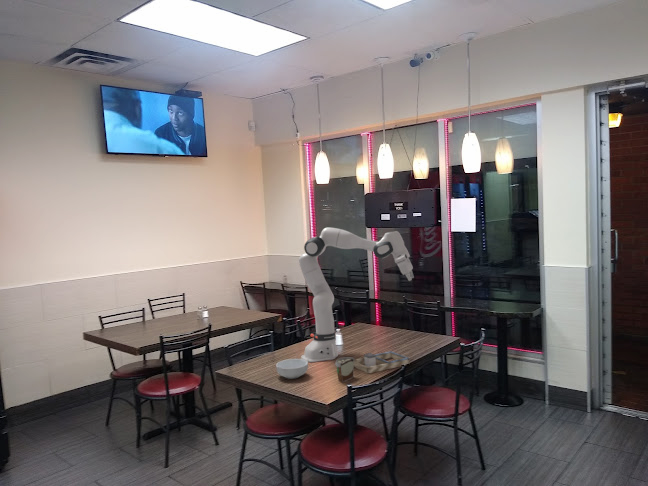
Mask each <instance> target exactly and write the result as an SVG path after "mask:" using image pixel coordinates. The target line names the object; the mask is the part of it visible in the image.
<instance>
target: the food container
mask: <svg viewBox="0 0 648 486" xmlns="http://www.w3.org/2000/svg"><path fill="white" fill-rule="evenodd" d="M335 360H336V361H335V363H334V365H335V367H336V371H337V378H338V379H337V380H338V382H339V383H345V382H347V381H348V380H351V379H353V378H354V372H355V371H354V370H355V369H354V368H355V367H354V360H355V357H353V356H352V357H350V356H349V357H347V356H346V357H339V358H337V359H335Z"/></svg>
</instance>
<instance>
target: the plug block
mask: <svg viewBox="0 0 648 486" xmlns="http://www.w3.org/2000/svg"><path fill="white" fill-rule="evenodd" d="M363 356H364V357H363V358H364V360H365V363H364V365H365V366H367V367H371V366H376V365H377V364H376V358H375V357H376V355H375V354H374V353H371V352H367V353H365V354H363Z"/></svg>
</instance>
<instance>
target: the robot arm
mask: <svg viewBox="0 0 648 486" xmlns="http://www.w3.org/2000/svg"><path fill="white" fill-rule="evenodd" d="M403 239H404V238H403V237H402V235H401V233H400V232H399V231H397V230H391V231H387V232H385V233H384V235H383V236H382V238H381V239H380V240H378V241H377V240H371V239H366V238H363V237H362V236H361V237H360V236H359V235H356V234H354V233H353V232H351V231H348V230H345V229H342V228H338V227H337V228H336V227H330V226H329V227H325V228H323V229H322V231H321V232H320V235H319V236H313V237H310V238H309V239H308V240H306V242H305V243H304V245H303V250H304V251H305V252H304V253H302V254H301V255H299V258H298V263H299V267H300V270H301V273H302V275H303V277H304V281H305V283H306V285H307V287H308V288H309V289H310V291H311V293H312V295H313V299H312V309H313V314H314V319H315V334H314V333H311V334H310V337H311V338H313V339H312V340H311V341H310V343H308V344H307V345H306V346H305V348H304V352H303V354H302V355H300V359H303V360H306V361H307V362H308V363H315V362H322V361H323V362H324V361H330V360H336V358H337V357H338V356H339V353H338V350H337V345H336V331H335V318H334V314H333V304H334V302H335V296H334V294H333V292H332V290H331V287H330V286H329V283H328V282H327V281H326V278H325V276H324V273H323V272H322V269H321V267H320V264H319V261H318V258H319V257H320V256H321V255H323V254H324V253H325V251H326V250H327V247H334V248H337V249H342V250H351V249H362V250H365V251H370V252H373V254H374V256H375V257H376V258H378V259H385V258H388V257H389V256H391V255H392V257H393V259H394V263H395V264H396V265H397V267H398V268H399V271H400V273H401V274H402V275H403V276H404V275H405V277H406V279H407V280H408V281H409V282H410V281H412V279H414V278H415V276H414V273H413V269H414V267H413V264H412V262H411V260H410V257H411V255H410V253H409V251H408V249H407V247H406V245H405V240H403Z"/></svg>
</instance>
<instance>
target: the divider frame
mask: <svg viewBox="0 0 648 486" xmlns="http://www.w3.org/2000/svg"><path fill="white" fill-rule="evenodd" d="M374 355H376V357H375V358H376V366H371V367H367V366H365V360H364V357H360V358H354V368H356V369H357V370H359V371H362V372H363V373H365V374H372V373H378V372H382V371H385V370H390V369H395V368H400V367H402V366H401V365H403V364H407V363H409V364H410V357H408V356H405V355H403V354H399V353H397V352H396V351H395V352H394V351H386V352H380V353H376V354H374ZM387 359H393V360H391V361H390V360H389V361H388V360H387Z"/></svg>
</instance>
